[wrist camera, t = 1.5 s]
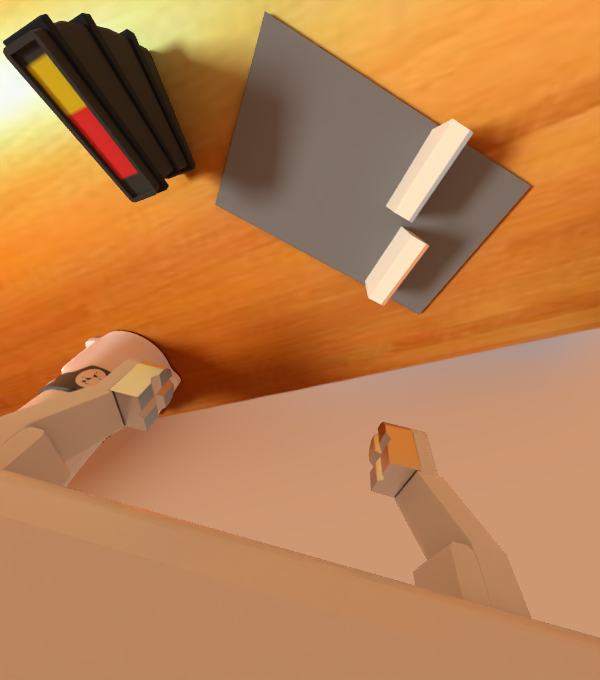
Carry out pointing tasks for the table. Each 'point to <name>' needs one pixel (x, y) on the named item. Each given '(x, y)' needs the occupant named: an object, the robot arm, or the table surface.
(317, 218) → the mat
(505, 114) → the table surface
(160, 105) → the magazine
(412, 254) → the peach flat block
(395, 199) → the light grey flat block
